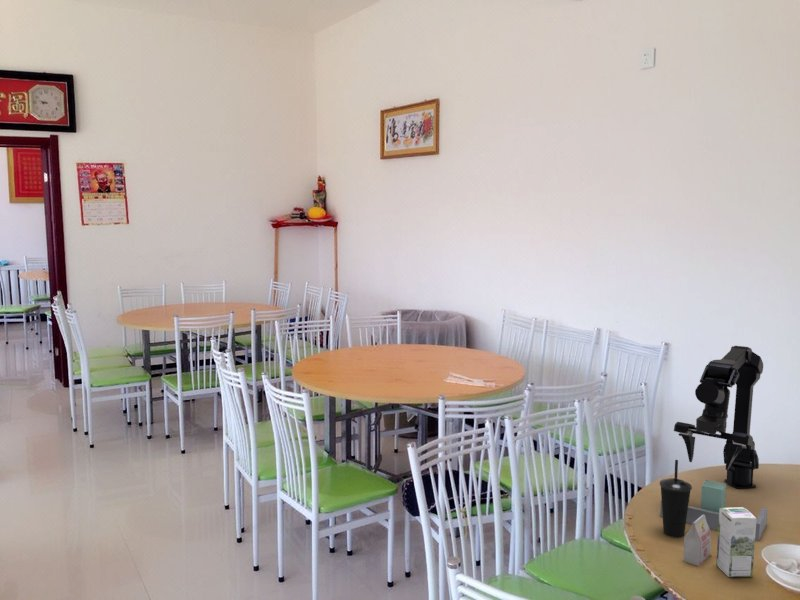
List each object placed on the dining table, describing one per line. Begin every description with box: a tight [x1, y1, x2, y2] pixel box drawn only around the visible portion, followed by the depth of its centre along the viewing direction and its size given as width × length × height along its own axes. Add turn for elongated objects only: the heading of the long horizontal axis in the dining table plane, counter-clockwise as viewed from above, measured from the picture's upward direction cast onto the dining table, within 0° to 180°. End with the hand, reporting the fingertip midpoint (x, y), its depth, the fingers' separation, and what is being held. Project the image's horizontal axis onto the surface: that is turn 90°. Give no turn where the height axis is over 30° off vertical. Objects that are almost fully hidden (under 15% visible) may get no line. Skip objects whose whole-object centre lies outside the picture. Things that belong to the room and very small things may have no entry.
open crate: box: [659, 499, 768, 542], centre depth 180 cm, size 12×24×5 cm, turn 53°
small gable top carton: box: [683, 515, 712, 567], centre depth 161 cm, size 4×7×10 cm, turn 136°
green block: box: [700, 479, 727, 513], centre depth 179 cm, size 5×5×10 cm
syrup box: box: [715, 506, 757, 578], centre depth 154 cm, size 6×6×14 cm
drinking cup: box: [659, 459, 693, 539], centre depth 172 cm, size 8×8×20 cm
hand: (708, 465), depth 180 cm, fingers open, 9 cm apart
